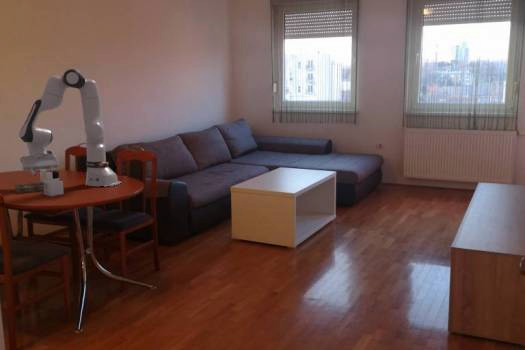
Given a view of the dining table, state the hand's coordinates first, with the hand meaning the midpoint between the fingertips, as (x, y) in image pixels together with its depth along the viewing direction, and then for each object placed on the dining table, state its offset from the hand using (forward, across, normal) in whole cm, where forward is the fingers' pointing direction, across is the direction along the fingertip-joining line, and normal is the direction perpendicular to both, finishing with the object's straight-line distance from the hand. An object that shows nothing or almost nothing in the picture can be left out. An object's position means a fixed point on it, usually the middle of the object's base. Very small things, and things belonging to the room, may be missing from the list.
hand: (43, 174), depth 313 cm
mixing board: (+6, -5, +6) cm, 10 cm away
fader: (+4, 0, +4) cm, 6 cm away
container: (+20, +1, -7) cm, 21 cm away
